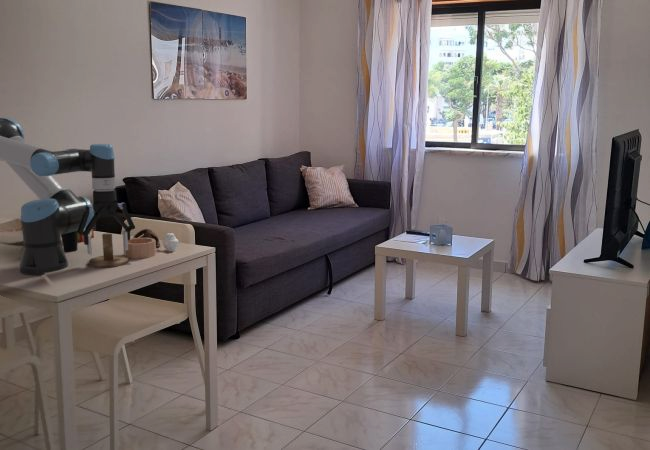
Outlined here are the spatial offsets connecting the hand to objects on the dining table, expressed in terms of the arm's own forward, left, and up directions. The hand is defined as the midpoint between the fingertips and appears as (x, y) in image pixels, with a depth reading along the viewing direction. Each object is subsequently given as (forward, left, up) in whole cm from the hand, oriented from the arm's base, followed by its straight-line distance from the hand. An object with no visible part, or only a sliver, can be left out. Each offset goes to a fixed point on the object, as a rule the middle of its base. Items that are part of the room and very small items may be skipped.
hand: (108, 251), depth 230 cm
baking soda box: (+2, +49, -5) cm, 49 cm away
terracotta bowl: (+13, +6, -5) cm, 15 cm away
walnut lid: (0, 0, -4) cm, 4 cm away
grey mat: (0, 0, -5) cm, 5 cm away
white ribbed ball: (+26, +10, -5) cm, 28 cm away
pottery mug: (+21, +21, -5) cm, 30 cm away
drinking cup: (-6, +31, -5) cm, 32 cm away
